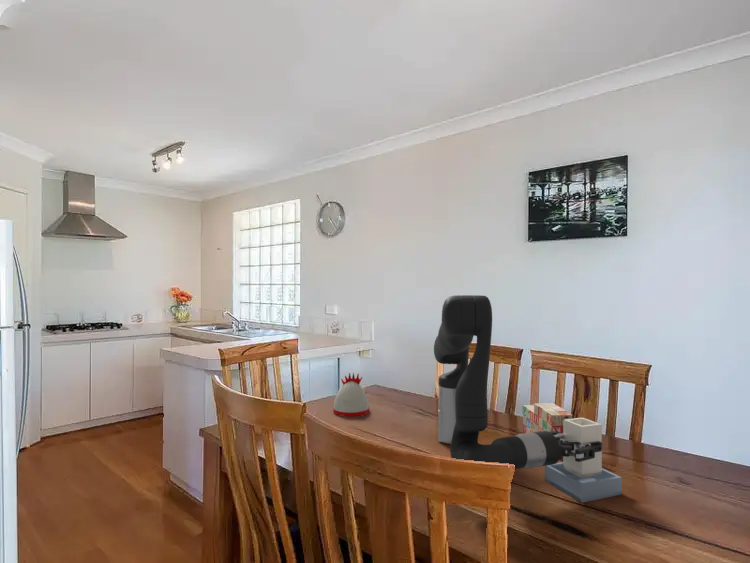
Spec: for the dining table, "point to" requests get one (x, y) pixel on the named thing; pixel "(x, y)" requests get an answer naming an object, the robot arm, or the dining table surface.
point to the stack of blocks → (544, 417)
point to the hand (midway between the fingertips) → (589, 441)
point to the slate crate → (583, 483)
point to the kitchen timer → (351, 399)
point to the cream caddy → (584, 434)
